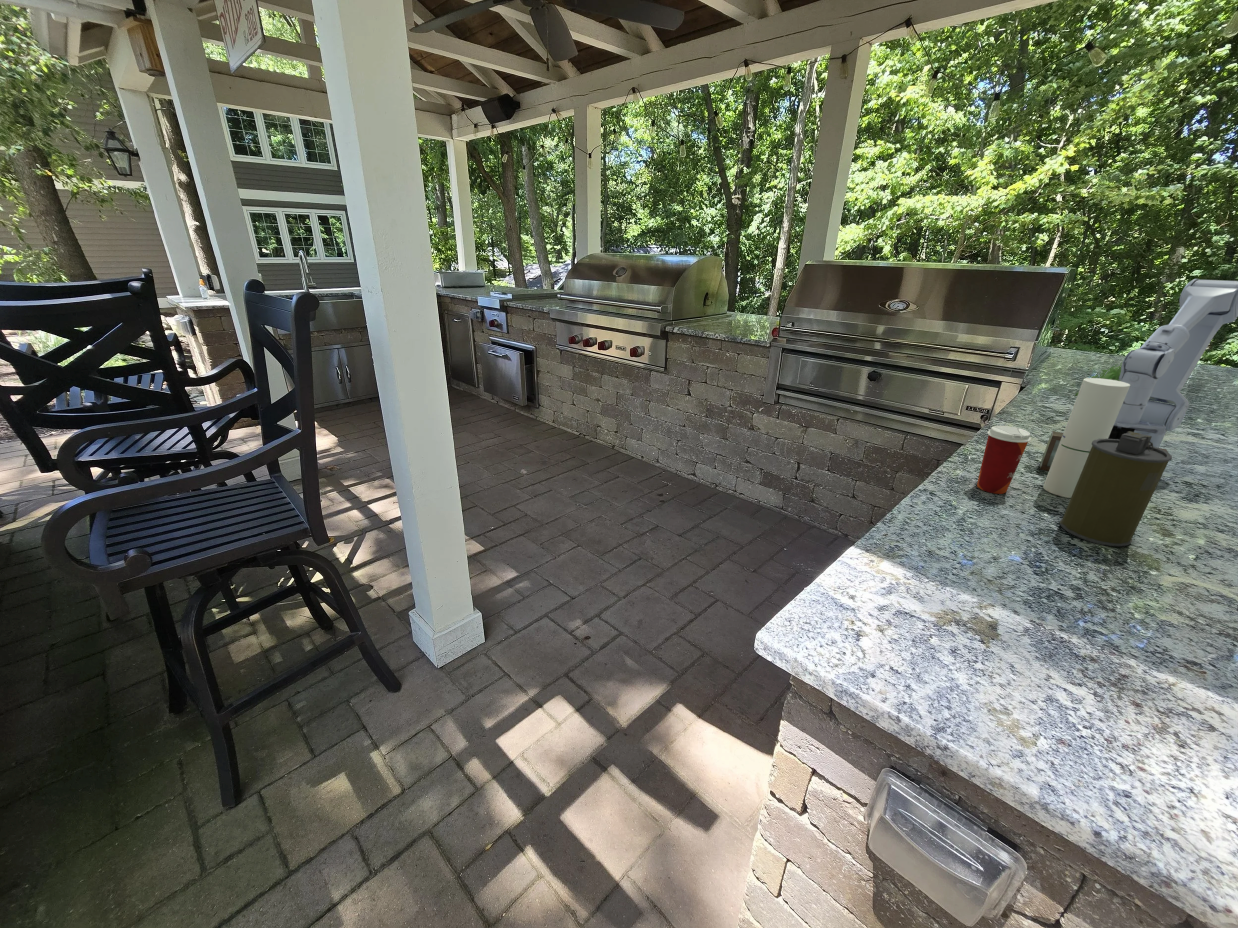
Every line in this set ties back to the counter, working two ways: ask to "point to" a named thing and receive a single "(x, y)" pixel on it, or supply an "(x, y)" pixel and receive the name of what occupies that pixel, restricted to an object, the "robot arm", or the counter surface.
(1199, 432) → the counter surface
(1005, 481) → the paper cup
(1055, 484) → the cylindrical container
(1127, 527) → the canister
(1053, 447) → the window frame
